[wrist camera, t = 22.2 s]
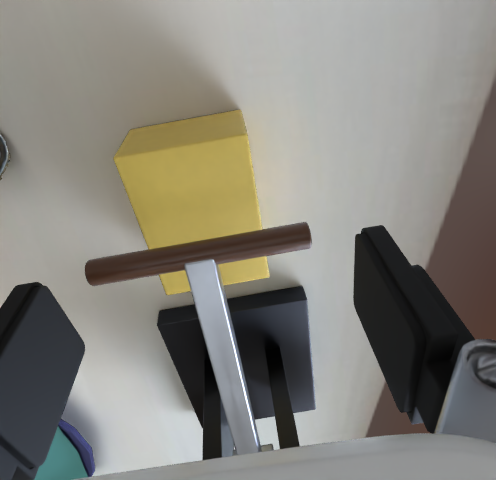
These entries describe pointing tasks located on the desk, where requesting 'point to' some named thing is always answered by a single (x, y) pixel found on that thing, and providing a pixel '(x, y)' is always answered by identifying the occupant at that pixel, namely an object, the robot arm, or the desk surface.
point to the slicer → (248, 363)
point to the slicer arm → (211, 304)
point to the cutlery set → (67, 456)
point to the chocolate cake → (3, 155)
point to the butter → (193, 188)
